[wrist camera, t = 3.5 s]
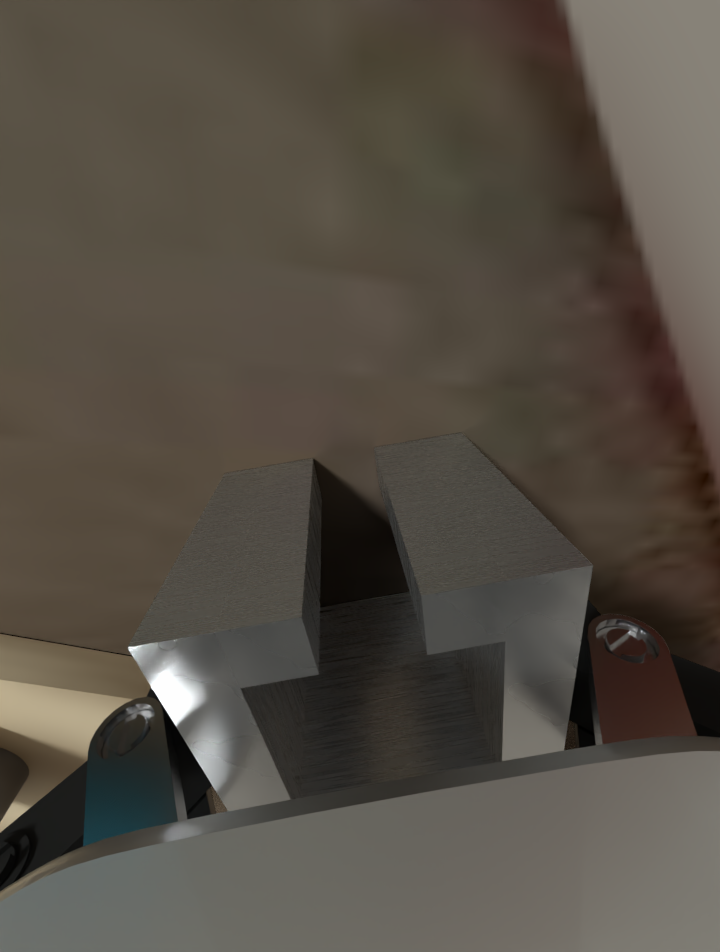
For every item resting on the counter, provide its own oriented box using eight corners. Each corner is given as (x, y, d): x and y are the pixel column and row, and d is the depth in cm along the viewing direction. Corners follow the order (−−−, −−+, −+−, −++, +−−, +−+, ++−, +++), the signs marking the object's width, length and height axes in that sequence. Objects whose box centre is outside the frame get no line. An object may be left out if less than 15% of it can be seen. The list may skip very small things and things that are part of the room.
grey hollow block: (467, 607, 14) (555, 801, 9) (282, 640, 14) (256, 856, 9) (461, 432, 11) (593, 565, 6) (225, 473, 11) (126, 648, 6)
